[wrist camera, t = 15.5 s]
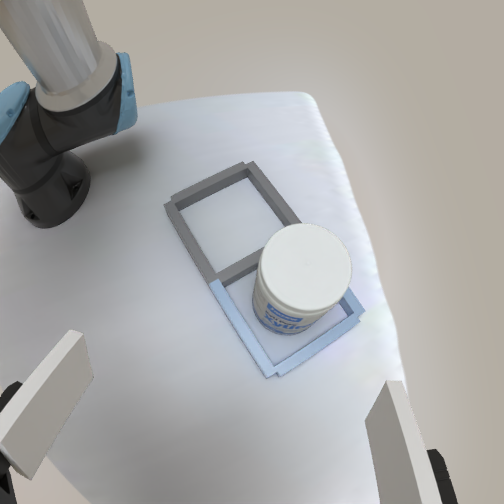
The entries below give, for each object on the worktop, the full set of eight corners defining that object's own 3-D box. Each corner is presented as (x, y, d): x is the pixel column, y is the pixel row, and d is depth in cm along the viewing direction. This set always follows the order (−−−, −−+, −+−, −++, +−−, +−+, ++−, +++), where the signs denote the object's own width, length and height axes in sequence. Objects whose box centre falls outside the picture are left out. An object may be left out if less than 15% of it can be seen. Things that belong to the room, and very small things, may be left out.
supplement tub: (258, 341, 42) (266, 320, 28) (247, 275, 46) (249, 227, 32) (326, 328, 43) (364, 302, 29) (312, 266, 46) (340, 216, 33)
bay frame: (164, 209, 49) (161, 201, 47) (250, 167, 53) (250, 157, 51) (268, 382, 40) (270, 382, 37) (362, 319, 43) (368, 315, 41)
